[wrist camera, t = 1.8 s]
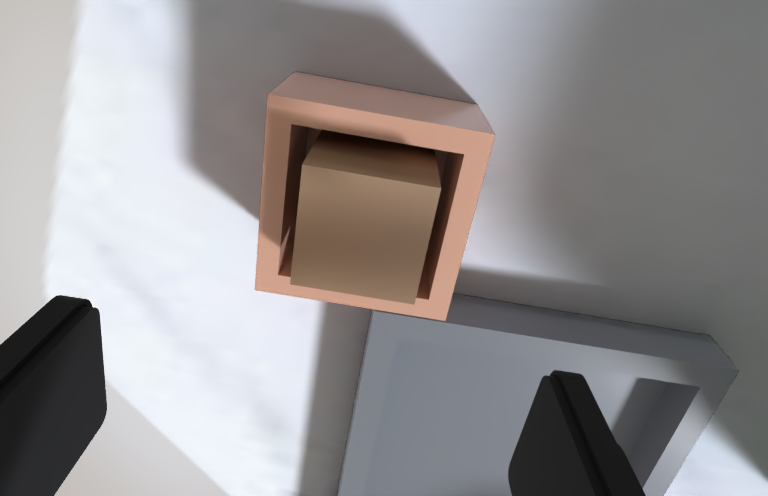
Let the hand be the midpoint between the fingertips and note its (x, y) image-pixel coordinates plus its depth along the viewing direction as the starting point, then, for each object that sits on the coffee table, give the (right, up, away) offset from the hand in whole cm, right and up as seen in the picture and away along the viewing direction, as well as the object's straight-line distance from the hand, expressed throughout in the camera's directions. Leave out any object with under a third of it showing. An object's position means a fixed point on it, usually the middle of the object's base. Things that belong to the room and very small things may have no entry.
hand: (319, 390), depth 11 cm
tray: (+7, -8, +18) cm, 21 cm away
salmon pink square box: (+1, +6, +11) cm, 13 cm away
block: (+1, +6, +10) cm, 12 cm away
